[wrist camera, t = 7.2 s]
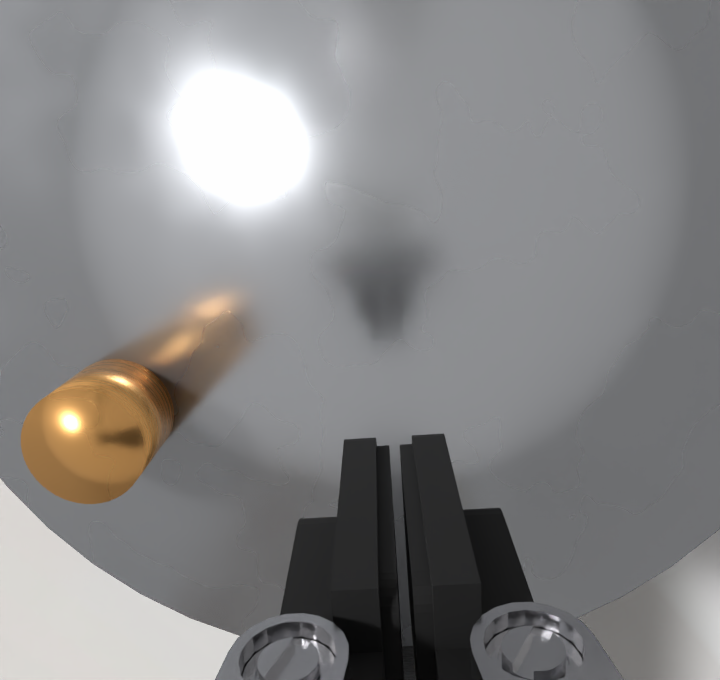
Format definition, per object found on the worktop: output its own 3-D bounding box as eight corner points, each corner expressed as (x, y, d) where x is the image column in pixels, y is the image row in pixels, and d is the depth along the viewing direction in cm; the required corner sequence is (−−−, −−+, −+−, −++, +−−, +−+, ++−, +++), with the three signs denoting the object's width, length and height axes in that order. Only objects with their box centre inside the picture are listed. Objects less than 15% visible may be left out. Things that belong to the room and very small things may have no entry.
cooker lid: (-214, -342, 13) (-407, -506, 9) (928, -462, 12) (1125, -682, 9) (59, 809, 20) (0, 932, 16) (786, 781, 19) (868, 904, 16)
